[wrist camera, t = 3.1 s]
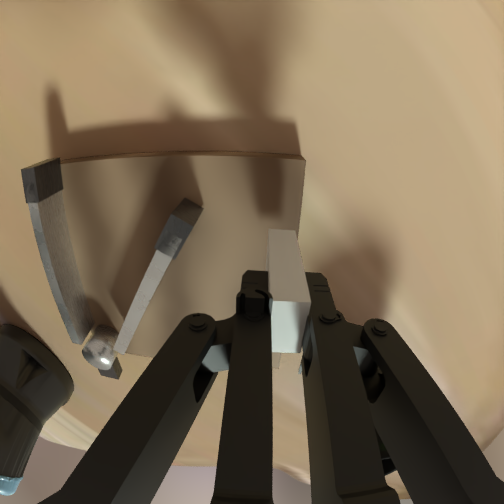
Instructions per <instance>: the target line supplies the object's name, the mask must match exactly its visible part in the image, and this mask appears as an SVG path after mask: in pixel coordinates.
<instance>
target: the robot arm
mask: <svg viewBox="0 0 504 504" xmlns="http://www.w3.org/2000/svg"><path fill="white" fill-rule="evenodd" d="M328 286H329V285H328V282H327V279H326V278H325V277H324V276H323V275H322V274H321V273H310V272H305V271H304V266H303V262H302V257H301V253H300V249H299V244H298V240H297V236H296V231H295V230H281V229H269V231H268V244H267V258H266V271H258V270H247V271H246V272H245V273H244V274H243V275H242V282H241V289H240V292H238V294H237V296H236V313H235V314H234V315H233V316H232V317H230V318H227V319H224V320H219V321H215V319H214V318H213V317H211V316H210V315H208V314H205V313H193V314H190V315H187V316H185V317H184V318H183V319H182V320H181V322H180V323H179V324H178V326H177V327H176V328H175V330H174V331H173V332H172V334H171V335H170V336H169V338H168V339H167V340H166V342H165V343H164V345H163V346H162V347H161V349H160V350H159V351H158V353H157V354H156V355H155V357H154V358H153V360H152V361H151V362H150V364H149V365H148V366H147V368H146V369H145V371H144V372H143V373H142V375H141V376H140V377H139V379H138V380H137V382H136V383H135V384H134V386H133V387H132V389H131V390H130V391H129V393H128V394H127V395H126V397H125V398H124V400H123V401H122V402H121V404H120V405H119V407H118V408H117V409H116V411H115V412H114V414H113V415H112V416H111V418H110V419H109V421H108V422H107V424H106V425H105V426H104V428H103V429H102V431H101V432H100V433H99V435H98V436H97V438H96V439H95V441H94V442H93V443H92V445H91V446H90V448H89V449H88V451H87V452H86V453H85V455H84V456H83V458H82V459H81V461H80V462H79V464H78V465H77V466H76V468H75V469H74V471H73V472H72V474H71V475H70V477H69V478H68V480H67V481H66V482H65V484H64V485H63V487H62V488H61V490H59V491H58V492H56V493H54V494H53V495H51V496H49V497H48V498H46V499H44V500H43V501H41V502H39V503H38V504H150V503H151V501H152V499H153V498H154V496H155V494H156V492H157V490H158V488H159V487H160V485H161V483H162V481H163V479H164V477H165V475H166V473H167V472H168V470H169V468H170V466H171V464H172V462H173V460H174V459H175V457H176V455H177V453H178V451H179V449H180V447H181V445H182V443H183V441H184V439H185V437H186V436H187V434H188V432H189V430H190V428H191V426H192V424H193V422H194V420H195V418H196V416H197V414H198V412H199V410H200V408H201V406H202V404H203V402H204V400H205V398H206V396H207V394H208V392H209V390H210V389H211V387H212V385H213V383H214V381H215V379H216V377H217V375H218V371H224V370H229V371H228V379H227V387H226V395H225V403H224V411H223V419H222V427H221V435H220V444H219V452H218V460H217V469H216V477H215V486H214V493H213V497H212V500H211V503H210V504H274V503H273V498H272V458H273V413H272V352H281V353H300V352H301V348H303V356H302V360H301V364H300V368H299V373H298V374H301V372H302V376H303V386H304V397H305V408H306V420H307V433H308V447H309V462H310V479H311V497H312V504H400V500H399V496H398V494H397V492H396V491H395V489H393V488H391V487H389V486H388V485H387V483H386V480H385V476H384V470H383V465H382V460H381V455H380V450H379V446H378V441H377V436H376V432H375V428H376V430H377V432H378V434H379V436H380V438H381V440H382V442H383V444H384V446H385V448H386V450H387V451H388V453H389V455H390V457H391V459H392V461H393V463H394V465H395V467H396V469H397V471H398V473H399V475H400V477H401V479H402V481H403V483H404V485H405V487H406V489H407V491H408V493H409V495H410V497H411V499H412V501H413V503H414V504H504V482H503V481H501V480H500V479H499V478H498V477H496V475H495V473H494V471H493V470H492V468H491V466H490V465H489V463H488V461H487V460H486V458H485V456H484V455H483V453H482V451H481V450H480V448H479V446H478V445H477V443H476V442H475V440H474V439H473V437H472V435H471V434H470V432H469V431H468V429H467V428H466V426H465V425H464V423H463V422H462V420H461V419H460V417H459V416H458V414H457V413H456V411H455V410H454V408H453V407H452V405H451V404H450V402H449V401H448V400H447V398H446V397H445V395H444V394H443V392H442V391H441V390H440V388H439V387H438V385H437V384H436V383H435V381H434V380H433V378H432V377H431V376H430V374H429V373H428V372H427V370H426V369H425V368H424V366H423V365H422V364H421V362H420V361H419V360H418V358H417V357H416V356H415V354H414V353H413V352H412V350H411V349H410V348H409V346H408V345H407V344H406V343H405V341H404V340H403V339H402V337H401V336H400V335H399V334H398V332H397V331H396V330H395V328H394V327H393V326H392V325H391V324H390V323H388V322H387V321H385V320H382V319H370V320H368V321H367V322H366V323H365V324H364V326H360V325H356V324H352V323H349V322H347V321H345V318H344V316H343V315H342V313H340V312H339V311H338V310H336V308H335V305H334V301H333V298H332V295H331V292H330V289H329V287H328ZM73 391H74V384H73V381H72V379H71V377H70V375H69V374H68V372H67V371H66V369H65V368H64V366H63V365H62V364H61V363H60V362H59V360H58V359H57V358H56V357H55V356H54V355H53V354H52V353H51V352H50V351H49V350H48V349H47V348H46V347H45V346H43V345H42V344H41V343H40V342H39V341H38V340H36V339H35V338H34V337H32V336H31V335H30V334H28V333H27V332H25V331H23V330H22V329H20V328H18V327H15V326H13V325H8V324H6V325H3V326H1V327H0V494H1V495H6V496H7V495H12V494H13V493H15V491H16V489H17V486H18V484H19V482H20V480H22V479H23V473H24V470H25V467H26V465H27V462H28V460H29V457H30V455H31V452H32V450H33V447H34V445H35V443H36V441H37V439H38V436H39V434H40V432H41V430H42V428H43V425H44V424H45V422H46V421H47V420H48V419H49V418H50V417H51V416H52V415H53V414H54V413H55V412H56V411H57V410H58V409H59V408H60V407H61V406H63V405H65V404H66V403H67V402H68V401H69V399H70V397H71V395H72V393H73ZM374 426H375V428H374Z"/></svg>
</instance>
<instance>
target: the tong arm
mask: <svg viewBox="0 0 504 504" xmlns="http://www.w3.org/2000/svg"><path fill="white" fill-rule="evenodd" d="M203 209H204V208H203V207H201V206H199V205H197V204H196V203H194V202H192V201H191V200H189V199H187V198H184V199H183V200H182V201H181V202H180V204H179V205H178V206H177V207H176V208H175V210H174V211H173V212H172V213H171V215H170V217H169V219H168V221H167V223H166V225H165V226H164V228H163V230H162V232H161V234H160V236H159V238H158V240H157V243H156V245H155V247H154V248H155V249H156V252H155V254H154V257H153V259H152V261H151V263H150V265H149V267H148V269H147V271H146V273H145V275H144V278H143V280H142V282H141V284H140V286H139V289H138V291H137V293H136V295H135V298H134V300H133V302H132V304H131V307H130V309H129V311H128V314H127V316H126V318H125V321H124V323H123V326H122V328H121V330H120V333H119V335H118V338H117V340H116V343H115V345H114V348H113V350H115V351H117V352H119V353H121V354H122V355H124V354H125V352H126V350H127V347H128V345H129V343H130V341H131V339H132V337H133V335H134V333H135V331H136V329H137V327H138V325H139V322H140V320H141V318H142V316H143V314H144V312H145V310H146V308H147V306H148V304H149V302H150V300H151V298H152V296H153V294H154V292H155V290H156V288H157V286H158V285H159V283H160V281H161V279H162V277H163V275H164V273H165V271H166V269H167V267H168V265H169V264H170V262H171V260H172V259H174V260H175V259H176V257H177V256H178V254H179V252H180V250H181V248H182V247H183V245H184V243H185V241H186V239H187V238H188V236H189V234H190V232H191V231H192V229H193V227H194V225H195V224H196V222H197V220H198V218H199V217H200V215H201V213H202V211H203Z"/></svg>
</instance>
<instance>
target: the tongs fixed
mask: <svg viewBox="0 0 504 504" xmlns="http://www.w3.org/2000/svg"><path fill="white" fill-rule="evenodd" d="M21 173H22V180H23V187H24V193H25V198H26V203H28V205H29V210H30V215H31V220H32V224H33V229H34V233H35V237H36V241H37V245H38V249H39V252H40V256H41V259H42V263H43V266H44V269H45V272H46V276H47V279H48V282H49V285H50V288H51V290H52V293H53V296H54V299H55V301H56V304H57V307H58V309H59V312H60V314H61V317H62V319H63V322H64V324H65V326H66V329H67V331H68V333H69V336H70V338H71V340H72V342H73V343H76V344H80V345H81V344H82V343H83V341H84V340H85V338H86V336H87V335H88V333H89V332H90V330H91V328H92V327H93V325H94V324H95V322H94V319H93V316H92V313H91V310H90V307H89V304H88V301H87V298H86V295H85V292H84V288H83V285H82V281H81V278H80V274H79V271H78V267H77V263H76V259H75V255H74V251H73V247H72V243H71V238H70V234H69V229H68V224H67V219H66V213H65V207H64V201H63V195H62V190H63V181H62V173H61V164H60V158H53V159H47V160H44V161H42V162H39V163H36V164H34V165H31V166H29V167H26V168H24V169H21ZM118 335H119V333H118V332H117V331H116V330H115V329H113V328H112V327H110V326H107V325H98V326H97V327H96V328H95V330H94V331H93V333H92V335H91V336H90V338H89V339H88V341H87V343H86V344H85V346H84V348H83V350H82V354H83V356H84V358H85V359H86V360H87V361H88V362H89V363H90V364H91V365H93V366H94V367H96V368H98V370H99V372H100V374H101V375H102V376H106V377H110V378H115V379H119V377H120V375H121V372H122V368H121V366H120V363H119V361H118V358H117V357H116V356H117V354H118V352H117V351H115V350H113V348H114V345H115V343H116V340H117V338H118Z"/></svg>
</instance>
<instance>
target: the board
mask: <svg viewBox="0 0 504 504" xmlns="http://www.w3.org/2000/svg"><path fill="white" fill-rule="evenodd" d="M60 164H61V173H62V181H63V190H62V195H63V201H64V207H65V213H66V219H67V224H68V229H69V234H70V238H71V243H72V247H73V251H74V255H75V259H76V263H77V267H78V271H79V274H80V278H81V281H82V285H83V288H84V292H85V295H86V298H87V301H88V304H89V307H90V310H91V313H92V316H93V319H94V322H95V324H94V325H93V327H92V328H91V333H93V331H94V330H95V328H96V327H97V326H98V325H107V326H110V327H112V328H113V329H115V330H116V331H117V332H118V333H120V330H121V328H122V326H123V323H124V321H125V318H126V316H127V314H128V311H129V309H130V307H131V304H132V302H133V300H134V298H135V295H136V293H137V291H138V289H139V286H140V284H141V282H142V280H143V278H144V275H145V273H146V271H147V269H148V267H149V265H150V263H151V261H152V259H153V257H154V254H155V252H156V249H155V248H154V247H155V245H156V243H157V240H158V238H159V236H160V234H161V232H162V230H163V228H164V226H165V225H166V223H167V221H168V219H169V217H170V215H171V213H172V212H173V211H174V210H175V208H176V207H177V206H178V205H179V204H180V202H181V201H182V200H183V199H184V198H187V199H189V200H191V201H192V202H194V203H196V204H197V205H199V206H201V207H203V208H204V209H203V211H202V213H201V215H200V217H199V218H198V220H197V222H196V224H195V225H194V227H193V229H192V231H191V232H190V234H189V236H188V238H187V239H186V241H185V243H184V245H183V247H182V248H181V250H180V252H179V254H178V256H177V257H176V259H175V260H174V259H172V260H171V262H170V264H169V265H168V267H167V269H166V271H165V273H164V275H163V277H162V279H161V281H160V283H159V285H158V286H157V288H156V290H155V292H154V294H153V296H152V298H151V300H150V302H149V304H148V306H147V308H146V310H145V312H144V314H143V316H142V318H141V320H140V322H139V325H138V327H137V329H136V331H135V333H134V335H133V337H132V339H131V341H130V343H129V345H128V347H127V350H126V352H125V353H128V354H134V355H139V356H146V357H152V358H154V357H155V355H156V354H157V353H158V351H159V350H160V349H161V347H162V346H163V345H164V343H165V342H166V340H167V339H168V338H169V336H170V335H171V334H172V332H173V331H174V330H175V328H176V327H177V326H178V324H179V323H180V322H181V320H182V319H183V318H184V317H185V316H187V315H190V314H193V313H205V314H208V315H210V316H211V317H213V318H214V319H215V321H219V320H224V319H227V318H230V317H232V316H233V315H234V314H235V313H236V296H237V294H238V292H240V289H241V282H242V275H243V274H244V273H245V272H246V271H247V270H258V271H266V258H267V244H268V231H269V229H281V230H295V231H296V236H297V240H298V232H299V224H300V215H301V205H302V196H303V186H304V176H305V165H306V160H305V159H304V158H303V157H302V156H300V155H288V154H274V153H256V152H228V151H175V152H147V153H130V154H116V155H104V156H94V157H85V158H76V159H68V160H64V161H61V162H60ZM280 359H281V352H272V368H275V369H279V365H280Z"/></svg>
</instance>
